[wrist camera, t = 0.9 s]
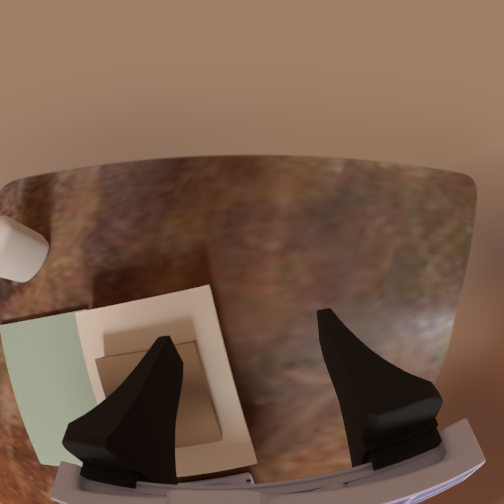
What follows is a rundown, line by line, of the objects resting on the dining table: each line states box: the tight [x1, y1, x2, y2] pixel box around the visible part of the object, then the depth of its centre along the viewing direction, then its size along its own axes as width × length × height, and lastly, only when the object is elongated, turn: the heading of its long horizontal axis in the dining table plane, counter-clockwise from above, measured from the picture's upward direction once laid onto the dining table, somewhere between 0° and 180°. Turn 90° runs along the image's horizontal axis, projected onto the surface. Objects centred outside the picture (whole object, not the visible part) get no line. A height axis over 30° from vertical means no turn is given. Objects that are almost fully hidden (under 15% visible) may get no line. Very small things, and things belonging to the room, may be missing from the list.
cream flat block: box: [75, 285, 257, 477], centre depth 23 cm, size 16×12×4 cm
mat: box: [0, 309, 98, 467], centre depth 22 cm, size 17×13×1 cm
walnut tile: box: [95, 340, 222, 448], centre depth 20 cm, size 8×8×2 cm
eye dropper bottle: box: [0, 216, 49, 282], centre depth 20 cm, size 4×6×12 cm
